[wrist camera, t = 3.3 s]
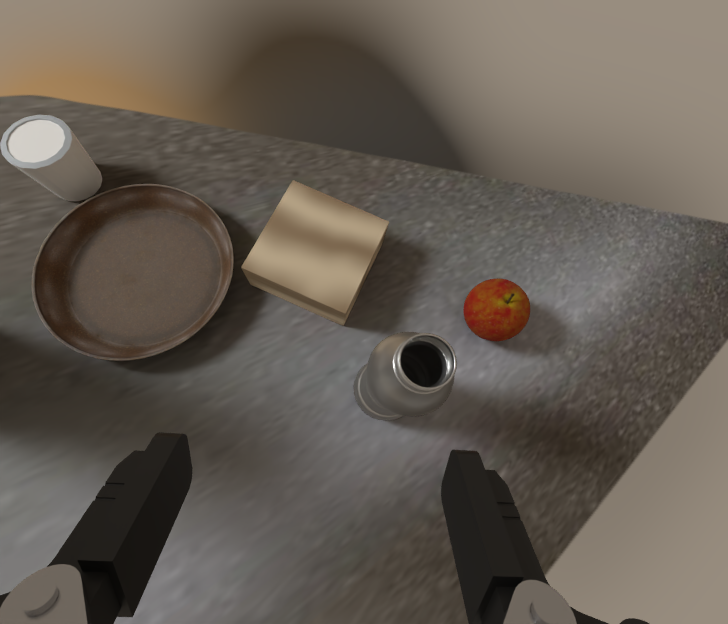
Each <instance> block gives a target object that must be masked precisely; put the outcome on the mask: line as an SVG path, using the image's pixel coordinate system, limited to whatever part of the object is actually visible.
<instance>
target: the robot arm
mask: <svg viewBox="0 0 728 624" xmlns="http://www.w3.org/2000/svg"><path fill="white" fill-rule="evenodd" d="M191 479H192V464H191V458H190V451H189V445H188V439H187V436H186V434H176V433H157V434H156V435H155V436H154V437H153V439H152V440H151V442H150V444H149V445H148V447H147V449H146V450H145V451H134V452H132V453H131V454H130V455H129V456H128V457H126V458H125V459H124V460H123V461H122V462H120V463H119V464H118V465H117V466H116V468H115V469H114V471H113V472H112V474H111V475H110V477H109V478H108V480H107V481H106V484H105V486H103V487H102V488H101V490H100V491H99V493H98V494H97V496H96V499H95V501H93V502H92V503H91V505H90V506H89V508H88V509H87V511H86V512H85V514H84V515H83V517H82V518H81V520H80V521H79V523H78V524H77V525H76V527H75V528H74V530H73V531H72V533H71V534H70V536H69V537H68V539H67V540H66V542H65V543H64V545H63V546H62V548H61V549H60V551H59V552H58V554H57V555H56V557H55V558H54V559H53V560H52V562H51V563H50V564H49V565H48V566H47V567H46V568H43V569H41V570H39V571H37V572H35V573H33V574H32V575H30V576H29V577H27V578H26V579H24V580H23V581H22V582H21V583H19V584H18V585H17V586H16V587H15V588H14V589H13V590H12V591H11V592H9V593H6V594H3V595H0V624H114V621H115V619H116V617H133V615H134V613H135V611H136V608H137V606H138V604H139V602H140V599H141V597H142V595H143V592H144V590H145V588H146V586H147V583H148V581H149V579H150V577H151V574H152V572H153V570H154V568H155V565H156V563H157V561H158V558H159V556H160V554H161V552H162V549H163V547H164V545H165V543H166V540H167V538H168V536H169V534H170V531H171V529H172V527H173V524H174V522H175V520H176V518H177V515H178V513H179V511H180V509H181V506H182V504H183V502H184V500H185V497H186V495H187V493H188V490H189V487H190V484H191ZM441 498H442V505H443V509H444V514H445V518H446V523H447V527H448V532H449V536H450V541H451V545H452V550H453V554H454V559H455V563H456V568H457V572H458V577H459V581H460V586H461V590H462V595H463V599H464V604H465V608H466V613H467V617H468V622H469V624H608V623H606V622H603V621H600V620H598V619H595V618H593V617H590V616H588V615H585V614H583V613H581V612H578V611H576V610H575V609H573V608H572V607H570V606H569V605H568V603H567V602H566V600H565V599H564V598H563V597H562V596H561V595H560V594H559V593H558V592H557V591H556V590H555V589H553V588H552V587H551V586H550V585H549V584H548V582H547V580H546V578H545V576H544V574H543V571H542V569H541V566H540V564H539V562H538V559H537V557H536V554H535V552H534V549H533V547H532V544H531V542H530V539H529V537H528V535H527V532H526V530H525V527H524V525H523V522H522V521H521V520H520V515H519V512H518V510H517V508H516V506H515V505H514V500H513V498H512V495H511V493H510V490H509V488H508V486H507V484H506V483H505V482H504V481H503V480H502V478H501V477H500V476H499V475H498V474H497V472H496V471H495V470H485V468H484V466H483V463H482V460H481V457H480V455H479V453H478V452H477V451H466V450H452V451H451V453H450V456H449V460H448V463H447V467H446V470H445V474H444V477H443V481H442V486H441ZM620 624H649V623H647V622H645V621H642V620H639V619H626V620H624V621H622V622H621V623H620Z"/></svg>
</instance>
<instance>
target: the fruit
mask: <svg viewBox="0 0 728 624" xmlns="http://www.w3.org/2000/svg"><path fill="white" fill-rule="evenodd" d="M529 315H530V303H529V299H528V297H527V295H526V293H525V292H524V291H523V290H522V289H521V288H520V287H519V286H518V285H516V284H515V283H513V282H511V281H509V280H506V279H490V280H487V281H484V282H482V283H480V284H478V285H477V286H475V287H474V288H473V289H472V290H471V291H470V293H469V294H468V296H467V298H466V300H465V303H464V317H465V320H466V323H467V325H468V327H469V328H470V329H471V331H472V332H473V333H475V334H476V335H477V336H479V337H481V338H483V339H486V340H490V341H503V340H507V339H510V338H512V337H514V336H515V335H517V334H518V333H519V332H520V331H521V330H522V329H523V328H524V327H525V325H526V323H527V322H528V319H529Z"/></svg>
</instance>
